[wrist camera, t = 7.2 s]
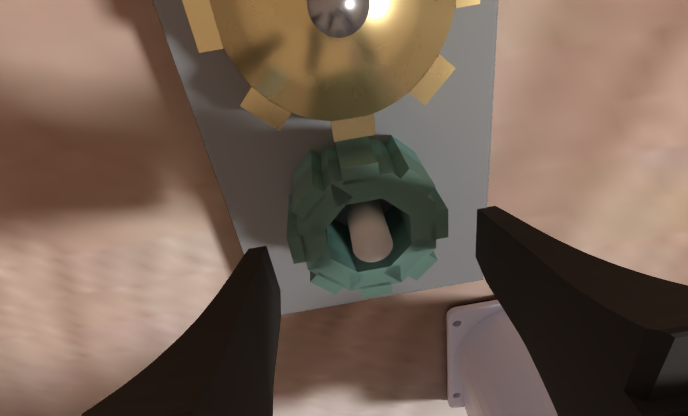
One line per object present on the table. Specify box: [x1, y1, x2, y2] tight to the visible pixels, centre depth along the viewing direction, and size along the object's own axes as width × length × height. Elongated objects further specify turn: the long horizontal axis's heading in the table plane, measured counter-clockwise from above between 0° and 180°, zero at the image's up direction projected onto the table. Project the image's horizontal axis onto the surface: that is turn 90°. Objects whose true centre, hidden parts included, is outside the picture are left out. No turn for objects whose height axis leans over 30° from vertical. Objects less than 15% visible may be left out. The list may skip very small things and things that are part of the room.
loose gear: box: [286, 135, 448, 298], centre depth 15 cm, size 6×6×3 cm
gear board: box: [152, 0, 498, 315], centre depth 14 cm, size 18×11×5 cm, turn 9°
